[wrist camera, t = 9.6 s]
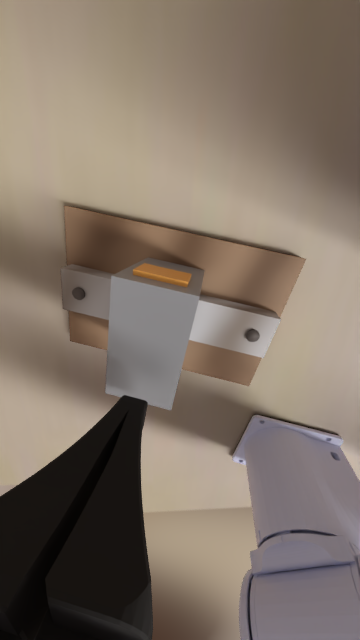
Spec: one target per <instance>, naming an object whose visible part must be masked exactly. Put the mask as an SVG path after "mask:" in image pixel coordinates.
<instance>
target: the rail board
mask: <svg viewBox="0 0 360 640" xmlns="http://www.w3.org/2000/svg"><path fill="white" fill-rule="evenodd" d="M64 210H65V233H66V256H67V266H64V267H61V284H62V301H63V309H66V310H69V326H70V341H72V342H76V343H80V344H84V345H88V346H92V347H96V348H100V349H104V350H108V330H109V311H110V291H111V276H112V275H114V274H116V273H118V272H120V271H122V270H124V269H126V268H128V267H130V266H132V265H134V264H136V263H138V262H140V261H142V260H144V259H146V258H148V257H149V258H153V259H157V260H162V261H166V262H170V263H175V264H179V265H184V266H188V267H192V268H197V269H201V270H205V271H204V276H203V282H202V287H201V293H200V298H199V302H198V306H197V310H196V314H195V318H194V321H193V325H192V329H191V333H190V337H189V341H188V345H187V349H186V353H185V357H184V361H183V365H182V369H183V370H187V371H191V372H195V373H199V374H203V375H207V376H211V377H215V378H219V379H223V380H227V381H231V382H235V383H239V384H243V385H247V386H249V385H250V383H251V380H252V378H253V376H254V374H255V372H256V369H257V367H258V365H259V363H260V360H261V358H264V356H265V354H266V351H267V349H268V347H269V345H270V343H271V340H272V338H273V336H274V334H275V332H276V329H277V327H278V325H279V323H280V321H281V319H280V316H281V314H282V312H283V309H284V307H285V305H286V303H287V300H288V298H289V296H290V294H291V292H292V289H293V287H294V285H295V283H296V280H297V278H298V276H299V274H300V272H301V269H302V267H303V265H304V263H305V260H306V259H304V258H301V257H297V256H293V255H288V254H284V253H279V252H275V251H270V250H266V249H261V248H257V247H252V246H247V245H243V244H238V243H234V242H229V241H225V240H220V239H216V238H211V237H207V236H202V235H198V234H193V233H189V232H184V231H180V230H175V229H170V228H166V227H161V226H157V225H152V224H148V223H143V222H139V221H134V220H130V219H125V218H121V217H116V216H112V215H107V214H103V213H98V212H93V211H89V210H84V209H80V208H75V207H70V206H64Z"/></svg>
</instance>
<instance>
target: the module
mask: <svg viewBox="0 0 360 640" xmlns="http://www.w3.org/2000/svg"><path fill="white" fill-rule="evenodd" d="M204 271H205V270H201V269H197V268H192V267H188V266H184V265H179V264H175V263H170V262H166V261H162V260H157V259H153V258H149V257H148V258H146V259H144V260H142V261H140V262H138V263H136V264H134V265H132V266H130V267H128V268H126V269H124V270H122V271H120V272H118V273H116V274H114V275H112V276H111V291H110V311H109V330H108V350H107V369H106V388H105V393H106V394H110V395H114V396H118V397H122V396H123V395H127V396H131V397H134V398H138V399H142V400H145V401H147V402H148V405H152V406H156V407H159V408H163V409H167V410H171V409H172V405H173V401H174V397H175V393H176V389H177V385H178V381H179V377H180V373H181V369H182V365H183V361H184V357H185V353H186V349H187V345H188V341H189V337H190V333H191V329H192V325H193V321H194V318H195V314H196V310H197V306H198V302H199V298H200V293H201V287H202V282H203V276H204Z"/></svg>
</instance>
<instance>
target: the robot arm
mask: <svg viewBox="0 0 360 640" xmlns="http://www.w3.org/2000/svg"><path fill="white" fill-rule="evenodd" d="M147 405H148V402H147V401H145V400H142V399H138V398H134V397H131V396H127V395H123V396H122V397H121V398H120V400H119V401H118V402H117V403H116V404H115V405H114V406H113V407H112V409H111V410H110V411H109V412H108V413H107V414H106V415H105V416H104V417H103V418H102V419H101V420H100V421H99V422H98V423H97V424H96V425H95V426H94V427H93V428H92V429H90V430H89V431H88V432H87V433H86V434H85V435H84V436H83V437H81V438H80V439H79V440H78V441H77V442H76V443H75V444H73V445H72V446H71V447H70V448H68V449H67V450H66V451H65V452H63V453H62V454H61V455H60V456H58V457H57V458H56V459H54V460H53V461H52V462H50V463H49V464H48V465H46V466H45V467H44V468H42V469H41V470H39V471H38V472H37V473H35V474H34V475H32V476H31V477H29V478H28V479H26V480H25V481H23V482H22V483H20V484H19V485H17V486H16V487H14V488H13V489H11V490H10V491H8V492H7V493H5V494H3V495H2V496H0V640H152V632H153V615H152V593H151V576H150V569H149V562H148V555H147V547H146V538H145V530H144V520H143V507H142V493H141V437H142V429H143V426H144V420H145V415H146V410H147ZM261 420H263V421H261ZM342 443H343V439H342V438H341V437H340V436H338V435H334V434H330V433H326V432H322V431H318V430H314V429H310V428H307V427H303V426H299V425H295V424H291V423H287V422H283V421H280V420H276V419H272V418H268V417H264V416H260V415H254V416H253V417H252V418H251V420H250V422H249V424H248V426H247V428H246V430H245V432H244V434H243V436H242V438H241V440H240V442H239V444H238V446H237V448H236V450H235V452H234V454H233V456H232V458H233V461H234V462H237V463H240V464H244V465H246V467H247V475H248V482H249V489H250V496H251V503H252V511H253V517H254V525H255V532H256V539H257V547H258V549H256V550H254V551H250V557H251V564H252V565H251V566H252V569H250V570H248V571H247V573H246V574H245V576H244V578H243V582H242V587H241V593H240V601H239V626H240V637H241V640H360V481H359V479H358V478H357V476H356V474H355V472H354V471H353V469H352V467H351V465H350V464H349V462H348V460H347V458H346V457H345V455H344V453H343V451H342V450H341V448H340V446H341V445H342Z"/></svg>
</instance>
